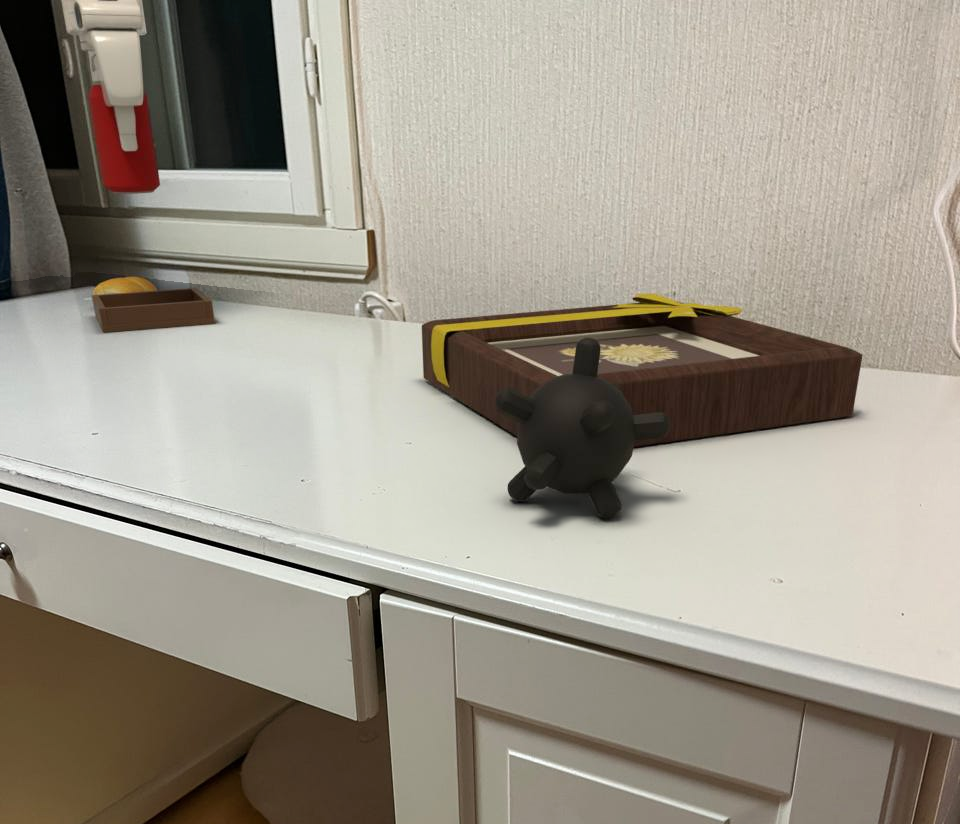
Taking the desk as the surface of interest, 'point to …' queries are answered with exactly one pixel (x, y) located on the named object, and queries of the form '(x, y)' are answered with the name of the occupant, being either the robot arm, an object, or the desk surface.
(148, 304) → the serving tray
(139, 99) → the robot arm
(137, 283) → the bread roll
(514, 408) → the naval mine
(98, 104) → the beverage can
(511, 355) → the brown gift box
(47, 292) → the desk surface
